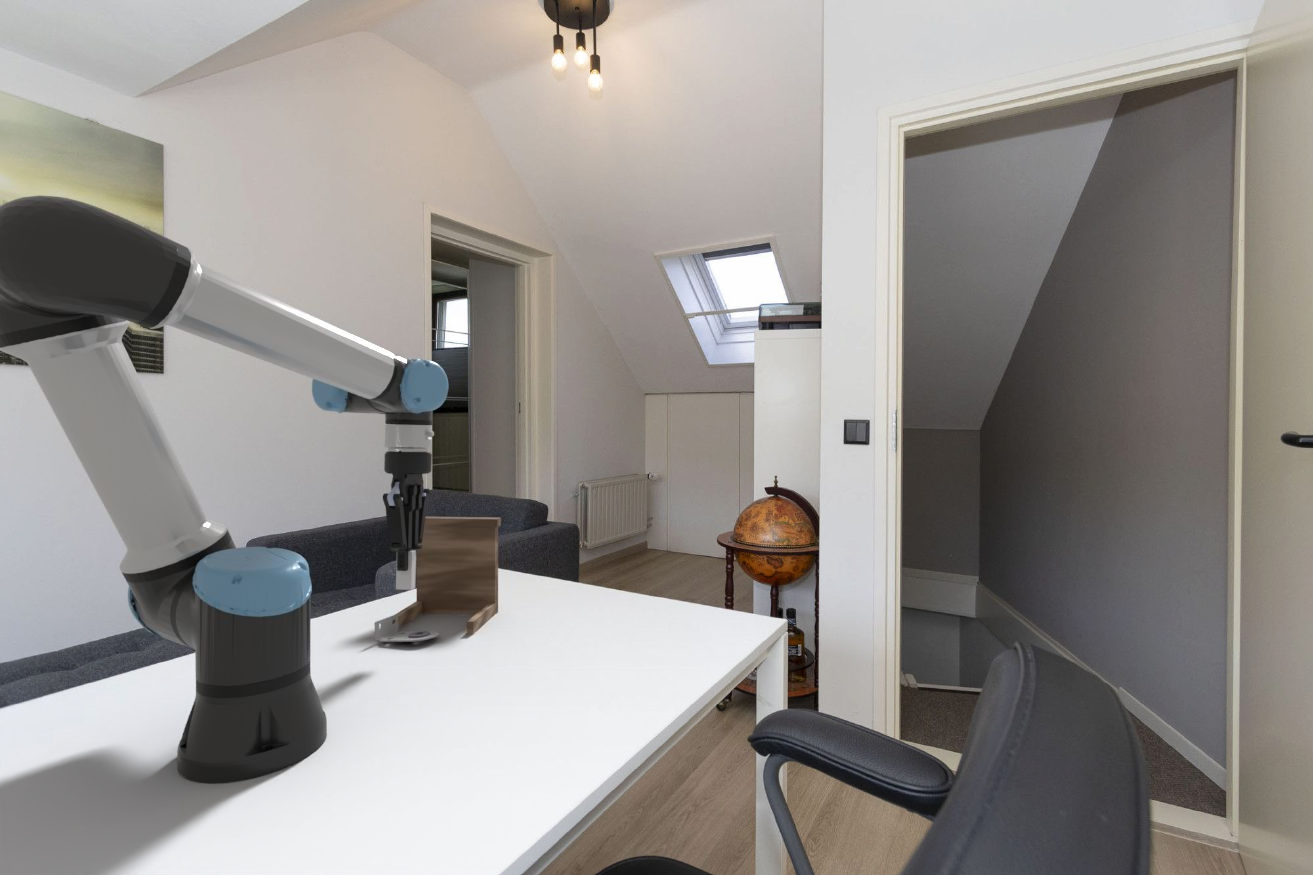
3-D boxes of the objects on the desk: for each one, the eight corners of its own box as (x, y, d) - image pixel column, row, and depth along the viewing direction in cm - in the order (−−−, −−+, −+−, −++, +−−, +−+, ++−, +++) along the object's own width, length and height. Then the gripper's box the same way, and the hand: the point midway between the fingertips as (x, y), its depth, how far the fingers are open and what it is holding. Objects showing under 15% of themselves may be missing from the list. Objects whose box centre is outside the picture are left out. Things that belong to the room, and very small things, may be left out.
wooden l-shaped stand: (475, 635, 119) (475, 529, 119) (384, 632, 120) (383, 527, 120) (500, 612, 134) (500, 517, 133) (418, 610, 135) (418, 516, 134)
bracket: (425, 645, 111) (426, 625, 111) (373, 641, 113) (374, 621, 113) (445, 636, 118) (446, 617, 118) (395, 632, 120) (396, 614, 120)
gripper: (412, 451, 104) (409, 598, 104) (445, 450, 117) (442, 581, 117) (367, 450, 104) (364, 597, 104) (404, 449, 117) (401, 579, 117)
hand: (405, 588), depth 110 cm, fingers closed
